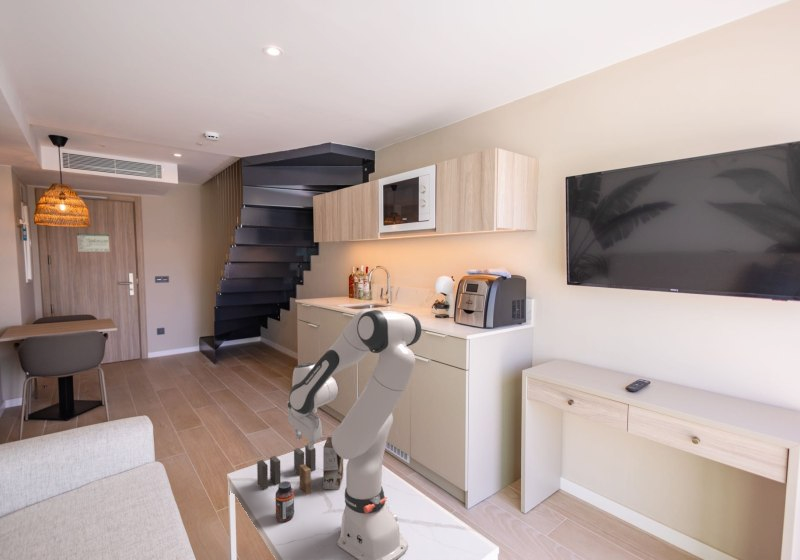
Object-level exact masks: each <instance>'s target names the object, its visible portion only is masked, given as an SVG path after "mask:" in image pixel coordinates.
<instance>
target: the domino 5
mask: <svg viewBox="0 0 800 560" xmlns="http://www.w3.org/2000/svg"><path fill="white" fill-rule="evenodd" d="M311 473H312V472H311V469H310V468H309V467H307V466H306V465H305V463H304V464H303V465H300V476H299V490H300V491H301V492H302V493H303V494H304V495H305V496H307V495H310V494H312V482H311V481H312V475H311Z"/></svg>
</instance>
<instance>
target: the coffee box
mask: <svg viewBox="0 0 800 560" xmlns="http://www.w3.org/2000/svg"><path fill="white" fill-rule="evenodd" d="M322 448H323V453H322V454H323V456H322V457H323V459H322V460H323V462H322V464H323V466H322V467H323V479H322V481H323V483H322V484H323V490H340V488H341V485H342V482H343V478H344V459H343V458H341V457H340V456H339V455H338V454H337V453H336V452H335V450H334V449H333V446H332V436H331V437H330V436H328V437H327V439H326V441H325V442H324V445H323V447H322Z"/></svg>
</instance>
